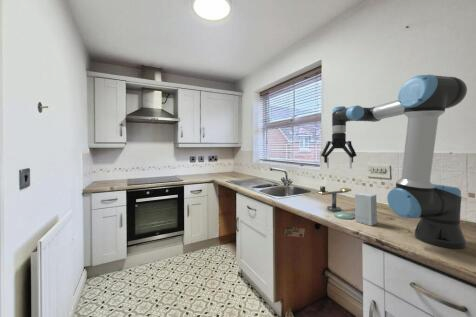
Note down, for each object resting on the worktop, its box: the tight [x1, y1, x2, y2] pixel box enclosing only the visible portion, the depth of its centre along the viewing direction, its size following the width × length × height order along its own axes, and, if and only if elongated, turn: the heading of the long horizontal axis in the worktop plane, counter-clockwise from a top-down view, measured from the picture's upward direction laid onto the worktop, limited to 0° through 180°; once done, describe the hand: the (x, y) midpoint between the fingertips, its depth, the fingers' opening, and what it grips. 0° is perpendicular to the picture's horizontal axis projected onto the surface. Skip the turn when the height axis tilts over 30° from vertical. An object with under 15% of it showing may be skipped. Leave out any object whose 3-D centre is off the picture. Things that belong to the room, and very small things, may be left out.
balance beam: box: [316, 186, 352, 196], centre depth 132 cm, size 6×22×5 cm, turn 101°
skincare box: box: [354, 192, 378, 227], centre depth 107 cm, size 8×6×15 cm
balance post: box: [326, 193, 342, 212], centre depth 132 cm, size 8×8×10 cm
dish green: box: [333, 211, 355, 221], centre depth 118 cm, size 10×10×1 cm
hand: (338, 168), depth 127 cm, fingers open, 13 cm apart
